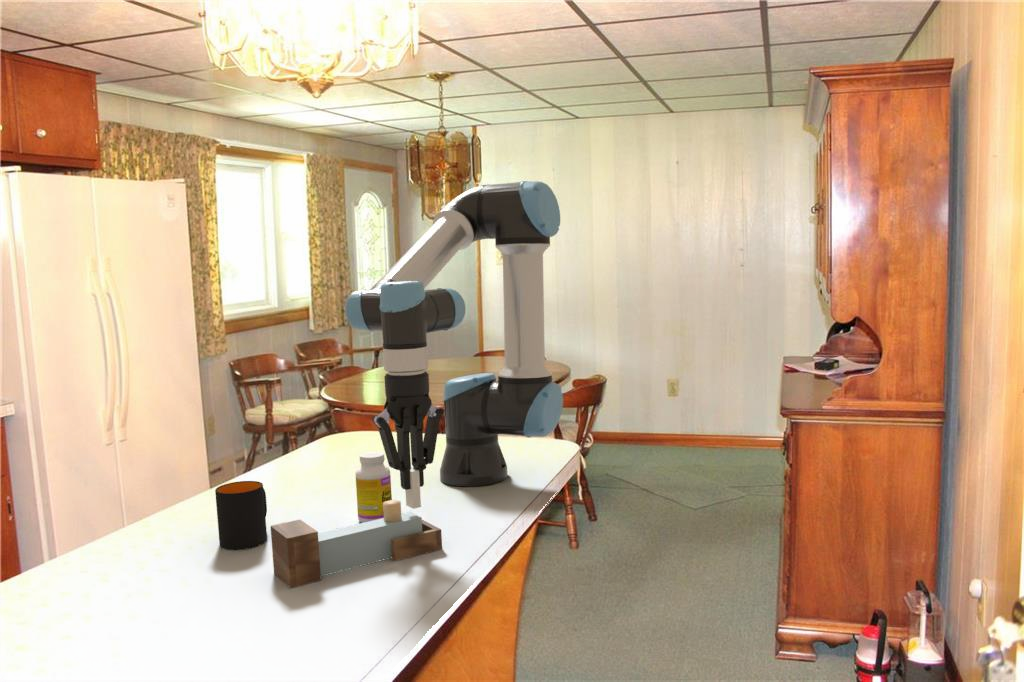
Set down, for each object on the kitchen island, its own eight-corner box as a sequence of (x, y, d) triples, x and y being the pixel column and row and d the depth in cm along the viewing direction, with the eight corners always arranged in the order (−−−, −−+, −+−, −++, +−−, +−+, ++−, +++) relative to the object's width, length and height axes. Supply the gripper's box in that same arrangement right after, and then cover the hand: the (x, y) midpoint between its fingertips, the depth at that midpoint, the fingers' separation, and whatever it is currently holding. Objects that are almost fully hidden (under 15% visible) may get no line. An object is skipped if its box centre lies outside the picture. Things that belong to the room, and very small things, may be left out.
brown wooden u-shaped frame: (420, 537, 158) (419, 518, 158) (442, 549, 151) (441, 529, 151) (375, 548, 153) (373, 528, 153) (395, 561, 146) (393, 540, 146)
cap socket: (303, 565, 146) (300, 519, 145) (321, 580, 139) (317, 531, 138) (274, 573, 143) (270, 525, 142) (290, 588, 137) (287, 538, 136)
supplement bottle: (386, 525, 165) (382, 459, 164) (353, 524, 167) (348, 458, 165) (397, 514, 172) (393, 450, 170) (365, 513, 173) (361, 450, 172)
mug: (286, 529, 165) (282, 476, 164) (250, 551, 154) (245, 494, 153) (248, 527, 168) (244, 474, 167) (210, 548, 156) (205, 492, 155)
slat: (412, 544, 155) (409, 495, 154) (423, 550, 152) (420, 500, 151) (310, 570, 144) (306, 517, 143) (319, 577, 141) (315, 523, 140)
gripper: (429, 365, 156) (436, 494, 159) (362, 374, 149) (370, 508, 152) (450, 369, 150) (456, 503, 152) (380, 378, 143) (389, 519, 145)
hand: (413, 506), depth 152 cm, fingers closed
